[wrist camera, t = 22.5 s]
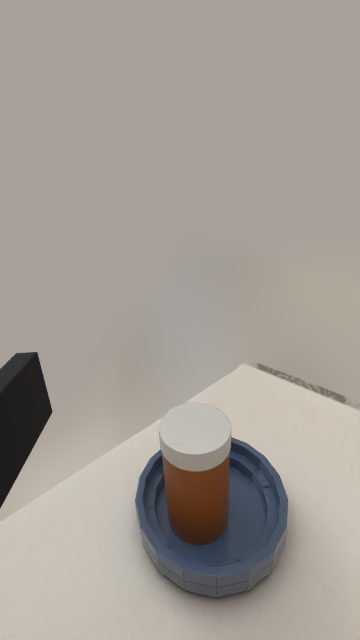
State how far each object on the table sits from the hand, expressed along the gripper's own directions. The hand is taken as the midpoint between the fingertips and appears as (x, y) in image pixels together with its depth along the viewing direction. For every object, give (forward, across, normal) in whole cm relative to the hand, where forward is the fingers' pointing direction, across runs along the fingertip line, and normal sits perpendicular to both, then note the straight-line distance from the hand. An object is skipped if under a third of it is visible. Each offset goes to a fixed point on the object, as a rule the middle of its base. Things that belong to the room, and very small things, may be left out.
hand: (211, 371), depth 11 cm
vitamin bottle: (+10, 0, -22) cm, 24 cm away
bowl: (+10, +2, -23) cm, 25 cm away
